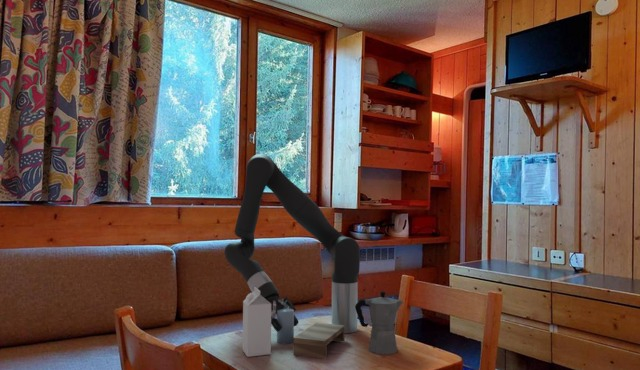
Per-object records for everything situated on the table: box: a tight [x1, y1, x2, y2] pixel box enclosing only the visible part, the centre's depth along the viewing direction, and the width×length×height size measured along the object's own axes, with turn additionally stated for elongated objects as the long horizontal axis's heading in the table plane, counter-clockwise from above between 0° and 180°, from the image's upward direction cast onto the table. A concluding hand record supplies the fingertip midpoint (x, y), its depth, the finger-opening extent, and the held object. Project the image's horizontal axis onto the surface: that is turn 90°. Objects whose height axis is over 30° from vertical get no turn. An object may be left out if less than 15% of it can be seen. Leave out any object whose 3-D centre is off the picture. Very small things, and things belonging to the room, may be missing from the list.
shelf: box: [292, 322, 346, 360], centre depth 144 cm, size 19×10×5 cm, turn 159°
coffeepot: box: [355, 290, 404, 355], centre depth 142 cm, size 15×9×18 cm, turn 101°
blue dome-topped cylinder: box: [276, 308, 295, 345], centre depth 150 cm, size 6×6×10 cm
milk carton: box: [242, 287, 272, 358], centre depth 139 cm, size 7×7×19 cm
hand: (288, 327), depth 150 cm, fingers open, 8 cm apart
